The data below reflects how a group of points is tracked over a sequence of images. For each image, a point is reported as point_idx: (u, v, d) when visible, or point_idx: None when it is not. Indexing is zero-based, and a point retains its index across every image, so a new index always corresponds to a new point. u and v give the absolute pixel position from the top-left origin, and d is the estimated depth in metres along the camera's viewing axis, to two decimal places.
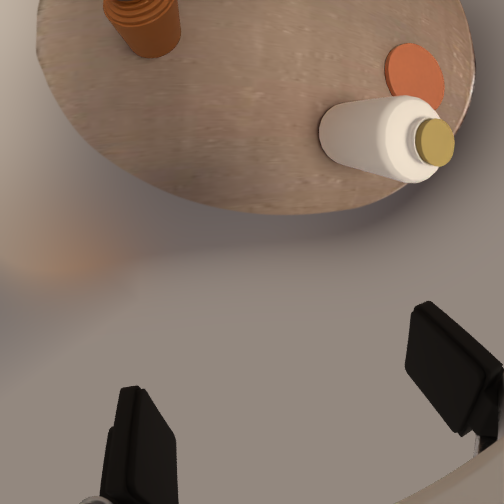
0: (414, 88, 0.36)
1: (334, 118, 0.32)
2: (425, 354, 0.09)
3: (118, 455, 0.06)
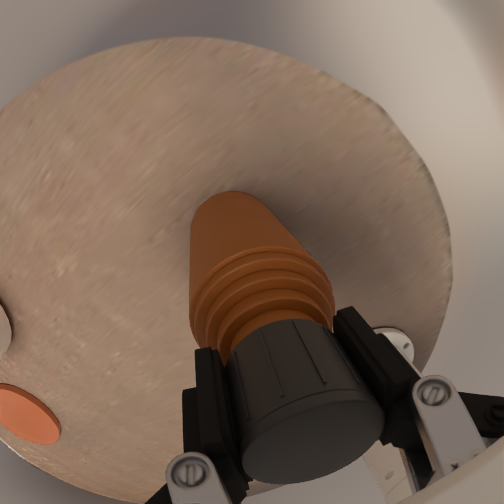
0: (11, 409, 0.26)
1: None
2: None
3: (208, 408, 0.07)
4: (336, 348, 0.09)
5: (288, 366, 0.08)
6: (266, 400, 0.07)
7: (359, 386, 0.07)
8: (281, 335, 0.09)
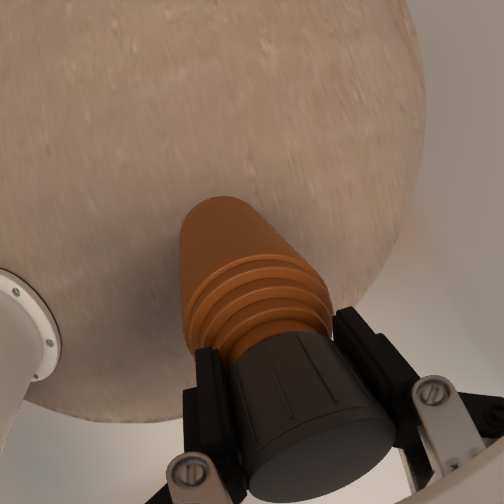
0: None
1: None
2: None
3: (208, 407, 0.07)
4: (344, 362, 0.08)
5: (296, 384, 0.07)
6: (274, 421, 0.06)
7: (371, 401, 0.07)
8: (286, 350, 0.08)
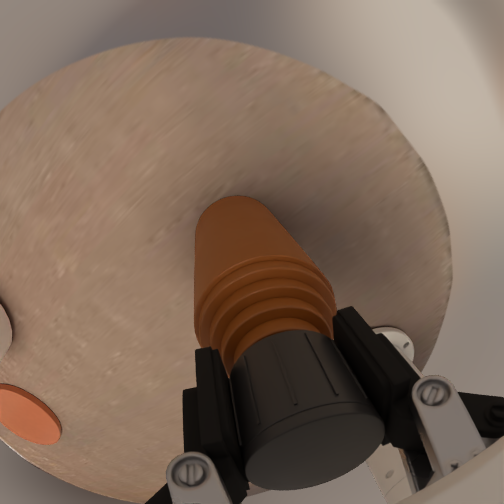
0: (12, 409, 0.26)
1: None
2: None
3: (208, 407, 0.07)
4: (233, 406, 0.09)
5: None
6: None
7: (244, 443, 0.07)
8: None
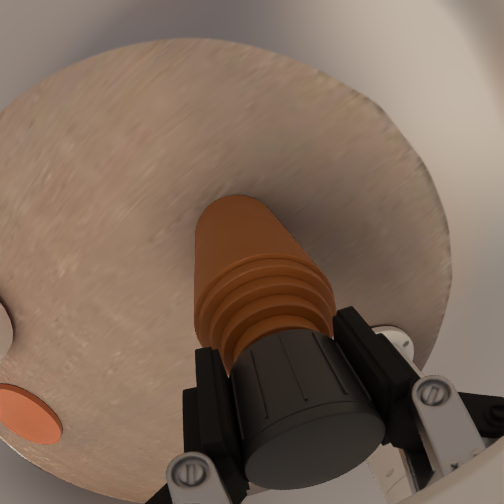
0: (13, 409, 0.27)
1: None
2: None
3: (208, 407, 0.07)
4: None
5: None
6: None
7: None
8: None
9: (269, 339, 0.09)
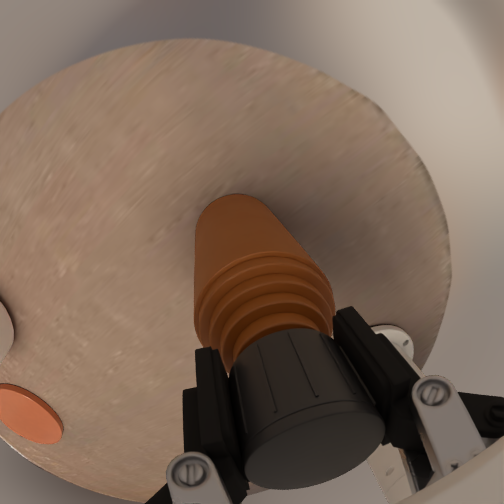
0: (14, 408, 0.27)
1: None
2: None
3: (208, 407, 0.07)
4: (353, 369, 0.09)
5: (320, 371, 0.08)
6: (299, 396, 0.07)
7: None
8: (311, 342, 0.09)
9: None
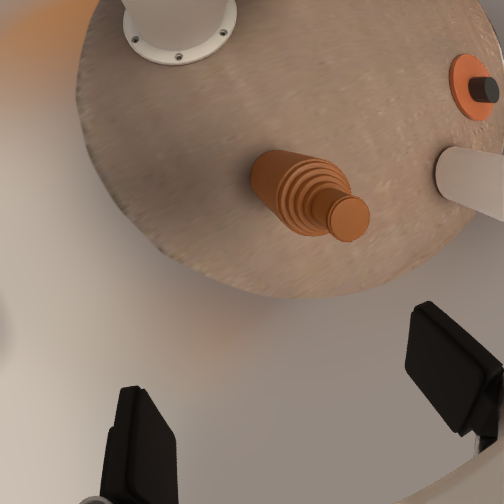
0: None
1: (453, 180, 0.35)
2: (425, 354, 0.09)
3: (118, 455, 0.06)
4: None
5: None
6: None
7: None
8: None
9: (470, 93, 0.34)
